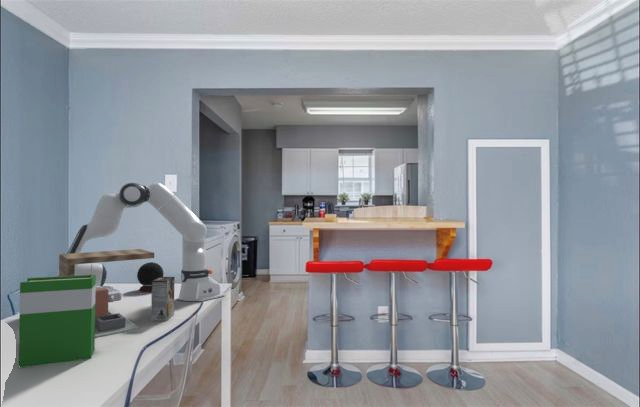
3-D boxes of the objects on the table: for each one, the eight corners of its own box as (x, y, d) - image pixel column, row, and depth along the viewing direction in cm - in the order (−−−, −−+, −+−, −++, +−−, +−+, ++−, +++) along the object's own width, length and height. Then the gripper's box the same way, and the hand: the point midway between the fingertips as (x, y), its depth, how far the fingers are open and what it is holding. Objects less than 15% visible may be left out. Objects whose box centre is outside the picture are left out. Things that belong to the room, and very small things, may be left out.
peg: (104, 317, 156) (105, 288, 157) (107, 320, 153) (108, 290, 153) (92, 319, 153) (92, 289, 153) (95, 322, 150) (95, 291, 150)
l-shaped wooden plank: (139, 316, 158) (140, 249, 158) (153, 326, 146) (154, 252, 146) (57, 331, 139) (59, 254, 139) (66, 343, 127) (67, 258, 127)
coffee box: (159, 314, 162) (159, 276, 162) (174, 314, 162) (175, 276, 162) (150, 321, 152) (151, 280, 153) (167, 320, 153) (167, 280, 153)
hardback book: (18, 367, 108) (20, 282, 108) (26, 358, 115) (28, 277, 115) (90, 358, 115) (92, 278, 115) (94, 350, 122) (95, 274, 122)
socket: (126, 319, 154) (126, 309, 154) (139, 328, 143) (139, 318, 143) (80, 327, 143) (80, 316, 143) (90, 338, 132) (90, 326, 132)
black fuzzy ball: (132, 290, 207) (132, 262, 207) (155, 286, 217) (155, 260, 217) (144, 293, 199) (145, 265, 199) (168, 289, 209) (168, 262, 209)
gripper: (62, 292, 159) (68, 298, 148) (116, 285, 173) (125, 290, 162) (62, 307, 159) (68, 314, 148) (116, 299, 172) (125, 305, 162)
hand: (98, 302), depth 155 cm, fingers open, 8 cm apart
